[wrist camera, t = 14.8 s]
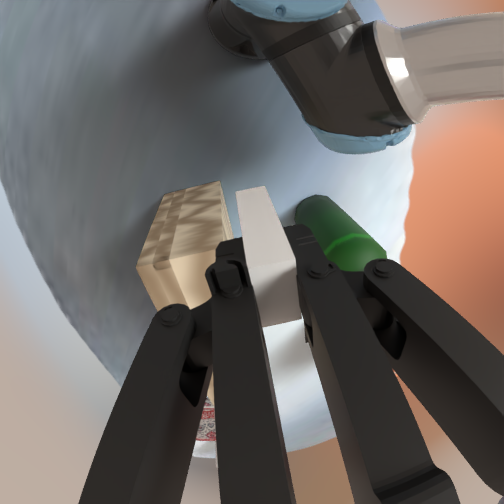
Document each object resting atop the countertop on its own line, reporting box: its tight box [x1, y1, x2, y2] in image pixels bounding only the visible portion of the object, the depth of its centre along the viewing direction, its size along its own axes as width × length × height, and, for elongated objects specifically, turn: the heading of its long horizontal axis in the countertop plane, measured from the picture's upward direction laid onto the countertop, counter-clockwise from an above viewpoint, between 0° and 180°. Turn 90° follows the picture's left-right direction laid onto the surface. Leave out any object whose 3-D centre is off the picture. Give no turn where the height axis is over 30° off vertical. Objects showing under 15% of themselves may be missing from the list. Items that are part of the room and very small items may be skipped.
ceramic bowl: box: [196, 399, 216, 441], centre depth 85 cm, size 29×29×8 cm
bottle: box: [295, 195, 387, 271], centre depth 43 cm, size 11×11×28 cm
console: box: [136, 181, 234, 405], centre depth 49 cm, size 10×34×22 cm, turn 10°
